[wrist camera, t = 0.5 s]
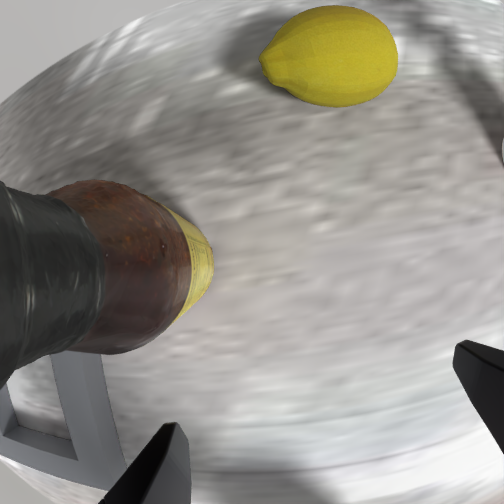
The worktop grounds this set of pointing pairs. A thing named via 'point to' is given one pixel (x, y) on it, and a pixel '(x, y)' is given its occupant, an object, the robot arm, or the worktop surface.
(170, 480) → the robot arm
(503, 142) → the cylindrical container
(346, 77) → the lemon
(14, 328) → the sauce bottle
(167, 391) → the worktop surface
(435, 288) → the worktop surface
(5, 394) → the socket frame
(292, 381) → the worktop surface
